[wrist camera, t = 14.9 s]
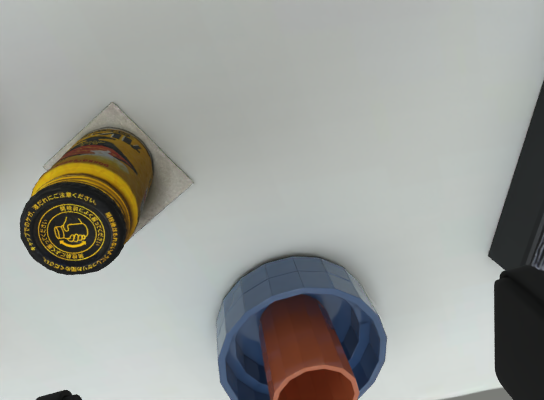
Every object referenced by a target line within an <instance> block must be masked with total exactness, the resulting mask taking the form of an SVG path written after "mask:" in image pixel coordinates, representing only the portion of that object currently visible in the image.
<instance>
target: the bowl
mask: <svg viewBox="0 0 544 400" xmlns="http://www.w3.org/2000/svg"><path fill="white" fill-rule="evenodd" d="M300 294H302V295H307V296H310V297H313V298H315V299H317V300H318V301H319V302H321V304H322V305H323V306H324V307H325V309H326V310H327V312H328V314H329V317H330V319H331V322H332V324H333V326H334V329H335V331H336V333H337V336H338V338H339V341H340V343H341V345H342V348H343V350H344V352H345V355H346V357H347V359H348V362H349V364H350V367H351V369H352V371H353V374H354V376H355V378H356V382H357V385H358V389H359V396H358V399H359V398H360V397H361V396H362V395H363V394H364V393H365V392H366V390H367V389H368V388H369V387H370V386H371V385H372V384H373V383H374V382H375V380H376V378H377V376H378V374H379V372H380V370H381V368H382V366H383V364H384V362H385V355H386V342H387V336H386V334H385V331H384V328H383V326H382V323H381V320H380V318H379V315H378V314H377V312H376V310H375V309H374V307H373V305H372V304H371V302H370V300H369V298H368V297H367V295H366V293H365V292H364V290H363V288H362V287H361V285H360V283H359V282H358V281H357V280H356V279H355V278H354V277H353V276H352V275H351V274H350V273H349V272H348V271H347V270H346V269H345V268H343V267H341V266H339V265H336V264H334V263H331V262H329V261H326V260H324V259H322V258H316V257H297V256H292V257H288V258H284V259H280V260H276V261H273V262H269V263H265V264H263V265H261V266H260V267H258V268H257V269H255V270H253V271H252V272H250V273H249V274H247V275H245V276H244V277H242V278H241V279H240V280H239V281H238V282H237V283H236V285H235V286H234V287H233V288H232V290H231V291H230V292H229V293H228V294H227V296H226V297H225V298H224V300H223V303H222V306H221V309H220V312H219V315H218V318H217V321H216V328H217V352H218V366H219V375H220V383H221V385H222V386H223V388H224V390H225V391H226V393H227V394H228V396H229V398H230V399H231V400H270V396H269V390H268V384H267V378H266V373H265V367H264V361H263V356H262V350H261V344H260V338H259V321H260V318H261V316H262V314H263V312H264V311H265V309H266V308H267V307H268V306H269V305H270V304H272V303H273V302H275V301H278V300H282V299H286V298H289V297H293V296H297V295H300Z"/></svg>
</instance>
